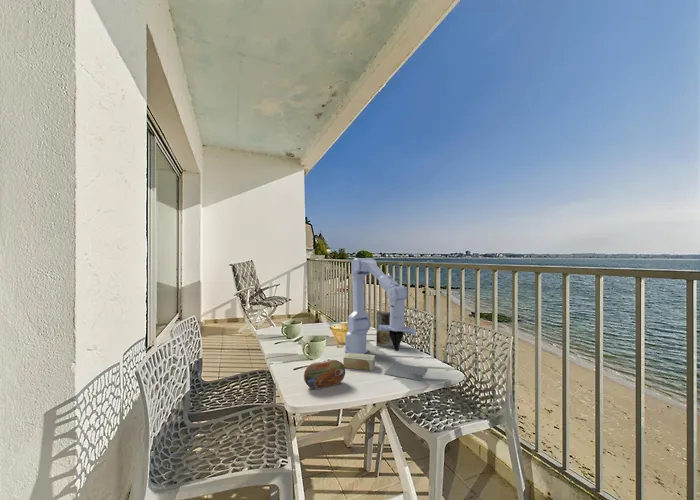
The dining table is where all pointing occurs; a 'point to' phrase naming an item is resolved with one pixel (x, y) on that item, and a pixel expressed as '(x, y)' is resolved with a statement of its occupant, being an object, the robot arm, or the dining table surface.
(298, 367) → the dining table surface
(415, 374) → the mat
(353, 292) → the robot arm
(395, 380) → the dining table surface
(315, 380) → the tin
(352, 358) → the skincare box
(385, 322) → the coffee box
